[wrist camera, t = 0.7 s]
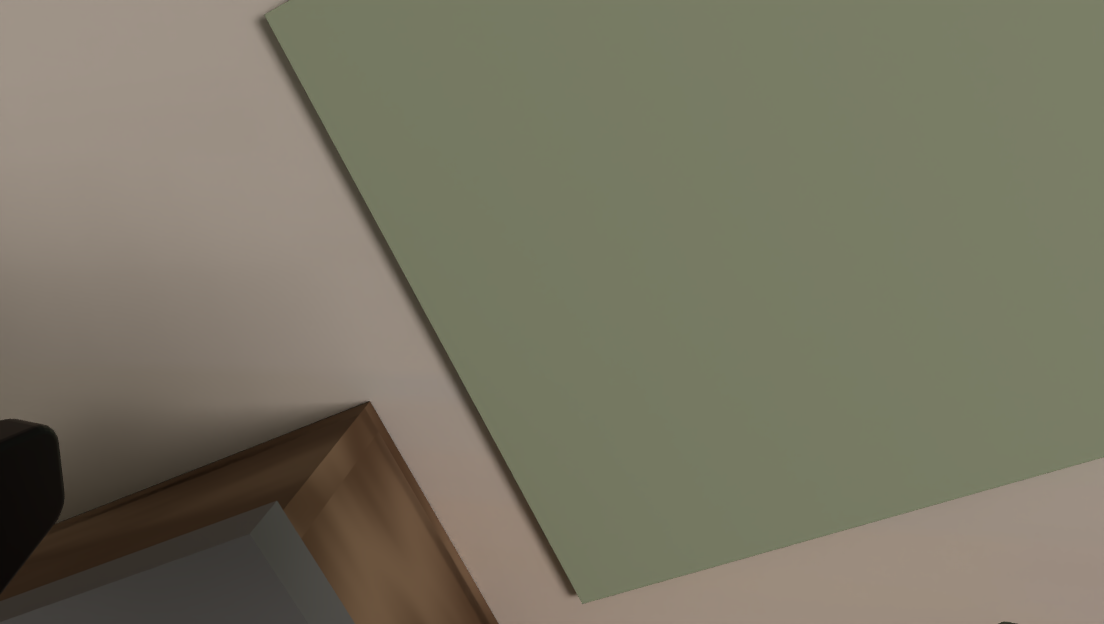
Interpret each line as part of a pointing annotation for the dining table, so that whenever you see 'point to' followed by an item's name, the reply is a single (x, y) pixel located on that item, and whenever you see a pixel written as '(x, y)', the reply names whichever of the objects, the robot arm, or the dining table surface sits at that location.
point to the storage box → (296, 522)
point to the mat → (737, 249)
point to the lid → (195, 581)
